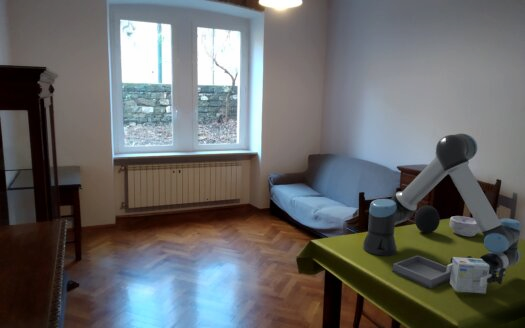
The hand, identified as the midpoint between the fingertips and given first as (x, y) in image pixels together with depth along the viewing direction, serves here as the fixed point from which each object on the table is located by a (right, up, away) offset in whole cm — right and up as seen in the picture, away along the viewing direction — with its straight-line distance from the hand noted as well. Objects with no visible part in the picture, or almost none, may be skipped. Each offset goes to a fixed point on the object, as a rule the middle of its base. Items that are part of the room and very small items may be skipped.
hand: (463, 275), depth 140 cm
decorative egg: (+16, +3, +70) cm, 72 cm away
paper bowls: (+37, +2, +70) cm, 79 cm away
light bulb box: (+3, -6, +3) cm, 7 cm away
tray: (-7, -5, +18) cm, 20 cm away
